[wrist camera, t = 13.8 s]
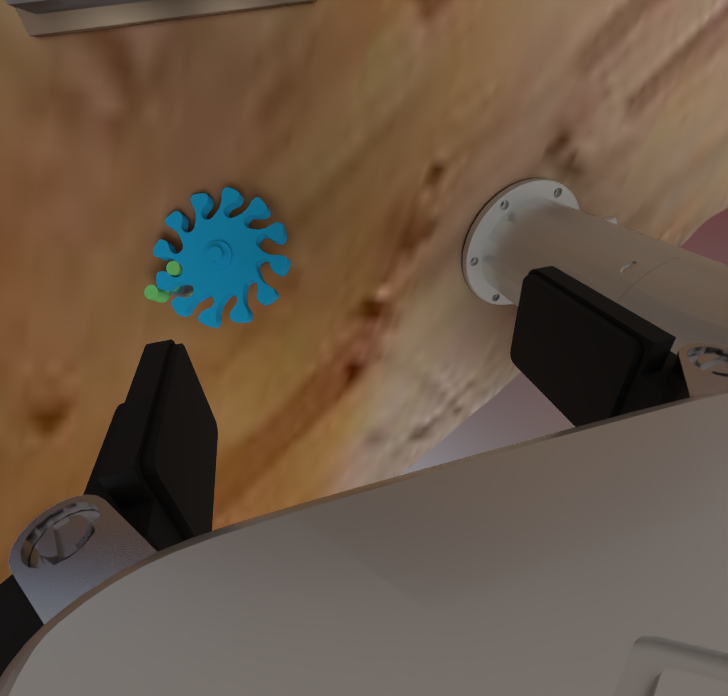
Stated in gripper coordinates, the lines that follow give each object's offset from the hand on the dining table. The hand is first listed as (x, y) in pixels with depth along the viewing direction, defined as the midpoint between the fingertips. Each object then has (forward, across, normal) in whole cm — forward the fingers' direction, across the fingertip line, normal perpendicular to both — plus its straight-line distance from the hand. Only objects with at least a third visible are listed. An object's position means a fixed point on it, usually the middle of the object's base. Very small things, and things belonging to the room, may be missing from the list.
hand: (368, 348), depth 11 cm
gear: (+24, +6, +4) cm, 25 cm away
